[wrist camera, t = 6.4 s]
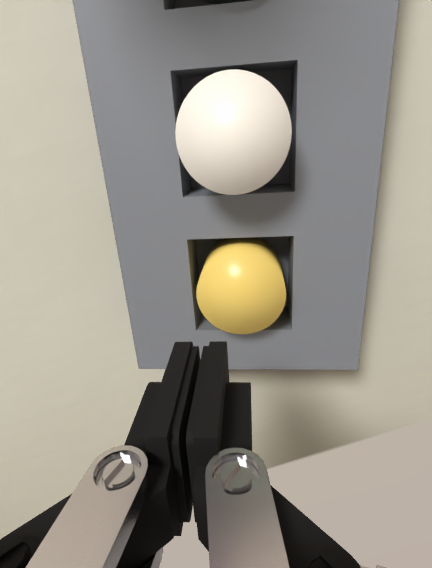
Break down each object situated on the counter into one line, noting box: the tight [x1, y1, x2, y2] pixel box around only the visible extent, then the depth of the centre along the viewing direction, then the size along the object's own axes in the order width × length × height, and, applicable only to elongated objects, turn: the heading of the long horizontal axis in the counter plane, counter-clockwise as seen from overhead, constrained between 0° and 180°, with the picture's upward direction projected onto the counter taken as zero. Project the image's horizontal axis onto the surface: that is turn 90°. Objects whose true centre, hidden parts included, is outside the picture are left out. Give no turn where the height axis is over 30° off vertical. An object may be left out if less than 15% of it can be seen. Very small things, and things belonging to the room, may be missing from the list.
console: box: [73, 0, 399, 370], centre depth 17 cm, size 24×12×4 cm, turn 4°
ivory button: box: [175, 69, 292, 195], centre depth 15 cm, size 4×4×3 cm
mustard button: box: [196, 237, 286, 334], centre depth 19 cm, size 4×4×3 cm
